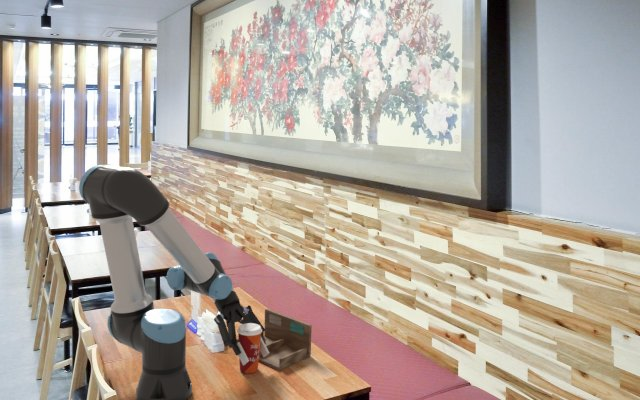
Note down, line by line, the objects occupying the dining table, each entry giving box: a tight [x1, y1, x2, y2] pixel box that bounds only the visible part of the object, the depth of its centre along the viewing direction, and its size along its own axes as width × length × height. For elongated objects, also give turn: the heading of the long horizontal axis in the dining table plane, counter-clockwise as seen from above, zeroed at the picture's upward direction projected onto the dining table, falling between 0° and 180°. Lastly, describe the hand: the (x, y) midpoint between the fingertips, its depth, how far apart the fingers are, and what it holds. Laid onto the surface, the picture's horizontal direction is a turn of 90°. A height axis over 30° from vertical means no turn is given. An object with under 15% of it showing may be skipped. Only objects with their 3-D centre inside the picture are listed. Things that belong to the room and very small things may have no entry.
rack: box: [236, 308, 313, 371], centre depth 178 cm, size 15×22×11 cm
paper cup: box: [236, 323, 262, 375], centre depth 165 cm, size 8×8×14 cm
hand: (256, 359), depth 163 cm, fingers closed on paper cup, 8 cm apart
